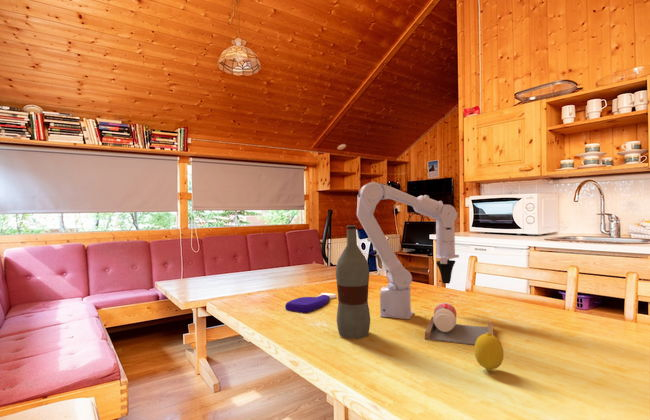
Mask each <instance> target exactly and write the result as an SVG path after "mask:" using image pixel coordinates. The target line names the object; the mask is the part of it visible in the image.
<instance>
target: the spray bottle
mask: <svg viewBox="0 0 650 420" xmlns="http://www.w3.org/2000/svg"><path fill="white" fill-rule="evenodd" d="M331 299H337V294H336V293H330V292H321V293H320V295H316V296H304V297H297V298H294V299H291V300H289V301H287V302H286V304H285V305H284V306H285V310H286V311H289V312H297V313H301V314H306V313H307V314H308V313H311V312H314V311H316V310H319V309H320V308H323V307H324V306H326V305H327V303H329V301H330V300H331Z"/></svg>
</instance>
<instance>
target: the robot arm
mask: <svg viewBox="0 0 650 420" xmlns="http://www.w3.org/2000/svg"><path fill="white" fill-rule="evenodd" d="M381 200H382V201H383V200H393V201H395V202H399V203H401V204H403V205H404V204H405V205H408V206H410V207H412V208H413V210H414V212H415V213H418V214H420V215H423V216H426V217H428V218H430V219H434V220H435V239H436V241H435V242H436V249H435V250H436V255H435V257H436V258H437V259H438V260H436V262H435V263H436V265H437V267H438V269H439V272H440V276H441V282H442V283H443V284H447V285H449V284H450V283H451V279H452V273H453V268H454V266H455V263H456V260H452V259H455V258H459V257H460V255H459V254H456V246H455V245H456V241H455V240H456V237H455V235H456V234H455V220H456V219H457V218H458V215H459V214H458V212H457V211H456V208H454V206H453V205H451V204H444V203H443V201H442V200H439V201H438V200H435V199H433V198H430V196H429V195H427V194H424V195H422V194H421V195H419V196H417V197H416V196H414V195H411V194H409V193H407V192H404V191H402V190H399V189H397V188H395V187H392V186H389V185H388V184H387V185H386V184H383V183H381V184H380V183H378V182H376V181H371V182H368V183H366V184H364V185H362V187H361V188H360V189H359V191H358V194H357V199H356V201H357V206H356V217H357V219H358V222H360V224H361V226H362V228H363V230H364V231H365V233H366V235H367V237H368V239H369V240H370V243H371V244H372V246H373V248H374V250H375V251H376V253H377V255H378V256H379V258H380V260H381V262H382V264H383V265H382V266H383V267H384V270H385V275H386V279H387V281H388V284H387V286H382V287H381V289H380V294H379V296H380V297H379V299H380V300H379V304H380V305H379V306H380V310H379V311H380V314H379V317H382V318H394V319H404V320H410V319H411V318H412V316H413V315H414V314H415V311H414V310H412V309H411V308H412V303H411V302H412V301H411V297H412V295H411V284H412V282H413V276H412V274H411V272H410V271H409V270H407V269H406V268H405V267H404V266H403V264H402V262H401V261H400V259H399V258H398V257H397V255H396V253H395V251H394V250H393V248H392V246H391V244H390V242H389V241H388V239H387V237H386V235H385V234H384V231H383V230H382V228H381V226H380V225H379V223H378V221H377V219H376V217H375V215H374V213H375V210H376V208H377V205H378V204H379V203H380V201H381Z"/></svg>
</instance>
